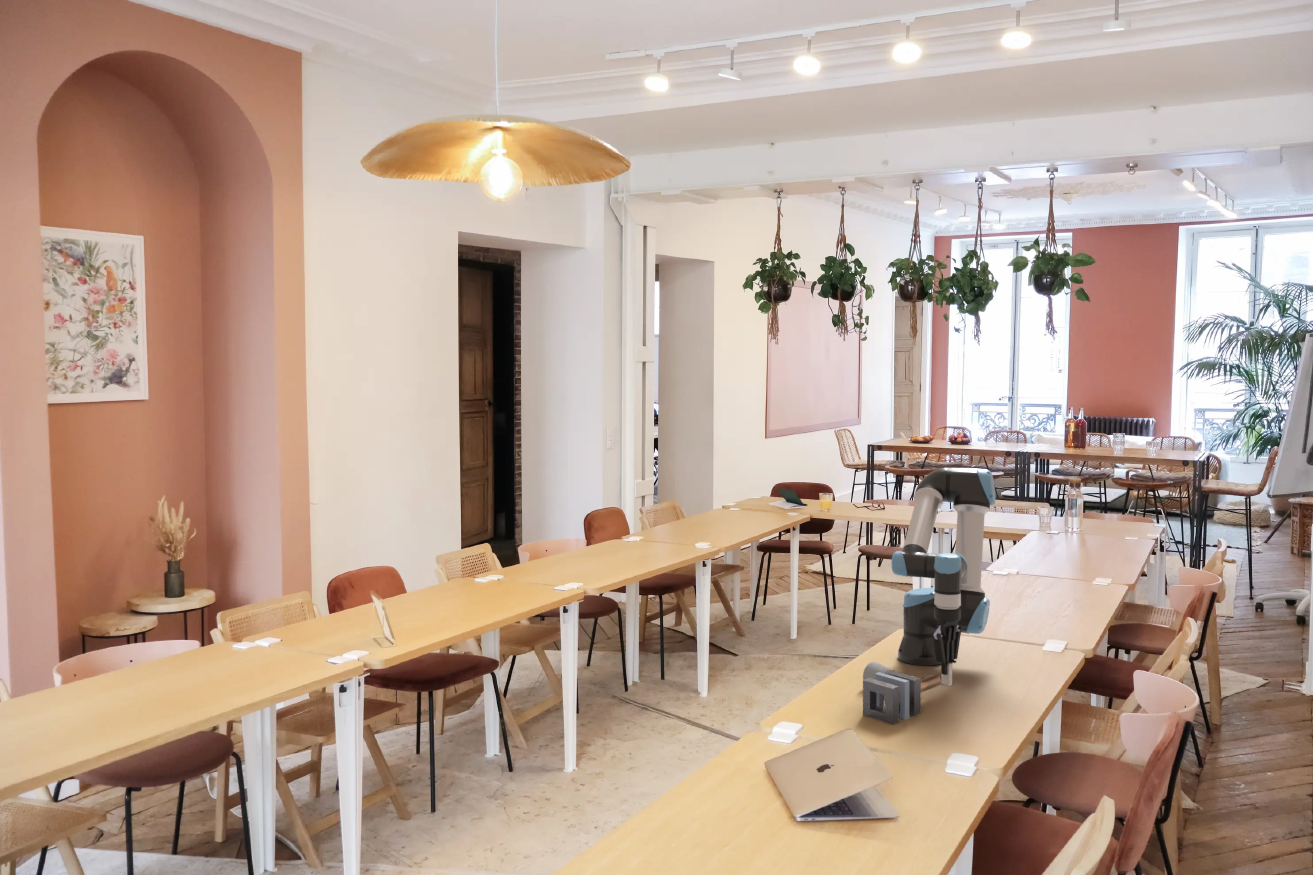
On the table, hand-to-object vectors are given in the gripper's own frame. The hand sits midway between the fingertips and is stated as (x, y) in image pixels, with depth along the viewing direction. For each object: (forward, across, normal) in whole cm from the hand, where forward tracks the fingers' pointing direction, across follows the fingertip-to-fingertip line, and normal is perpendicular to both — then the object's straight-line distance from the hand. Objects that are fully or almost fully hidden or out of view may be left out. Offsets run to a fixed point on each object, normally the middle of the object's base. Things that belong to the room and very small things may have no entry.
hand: (946, 684), depth 291 cm
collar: (+3, +32, 0) cm, 32 cm away
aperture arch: (+3, +27, 0) cm, 27 cm away
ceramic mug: (+3, +11, -15) cm, 19 cm away
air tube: (0, +16, 0) cm, 16 cm away
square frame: (+3, +22, 0) cm, 22 cm away
